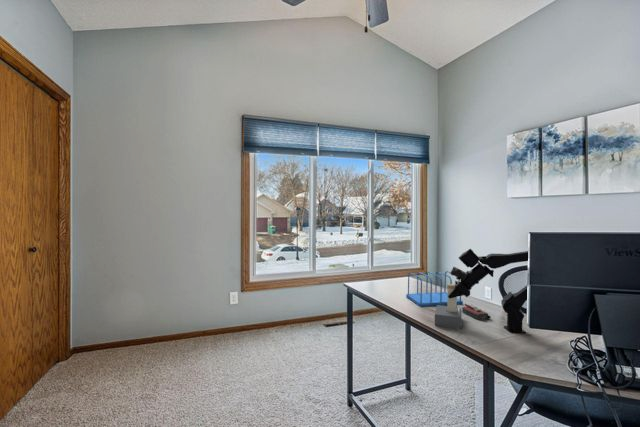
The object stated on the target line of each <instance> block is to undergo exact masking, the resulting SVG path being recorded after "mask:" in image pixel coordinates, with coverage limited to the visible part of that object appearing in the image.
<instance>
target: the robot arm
mask: <svg viewBox="0 0 640 427" xmlns="http://www.w3.org/2000/svg"><path fill="white" fill-rule="evenodd" d="M528 251H529V250H526V251H519V252H512V253H489V254H487V255H485V256H483V255H481V256H478V255H477V254H476V253H475V252H474V251H473V250H472V248H469V249H468V250H465V252H462V253H461V254H460V255H459V256H458V260H460V262H461V263H462V264H464V265H465V266H466V267H467V268H471V269H470V270H467V271H463V270H462V269H459V268H458V267H455V266H453V267H452V269H451V270H450V271H449V272H450V273H449V274H450V275H451V276H454V277H455V278H456V280H455V281H454V282H455V283H454V285H455V289H454V290H453V291H452V292H451V293H450V295H449V296H448V297H449V298H454V297H457V298H458V297H460V296H461V297H462V296H464V297H465V298H468V297H469V296H470V295H471V290H472V288H474V286H476V285H478V284H480V282H481V280H483V279H484V278H486V276H488V275H489V276H490V277H492V278H493V277H494V273H495V270H497V269H499V268H502V267H503V268H504V267H505V266H507V265H510V264H515V263H522V262H529V261H528ZM494 269H495V270H494ZM457 280H458V281H457ZM526 301H528V300H527V285H525V286H524V287H523V288H521V289H520V290H519V291H518V292H515V293H512V291H509V292H507V294H506V295H503V296H502V299H501V302H500V303H501V304H500V305H501V306H502V310H503V311H504V313H506V325H503V328H504V329H505V330H507V331H508V333H511V334H513V333H514V334H526V333H527V331H525V330H524V328H523V320H524V318H525V314H524V313H523V310H522V309H521V308H523V306H524V304H525V303H526Z"/></svg>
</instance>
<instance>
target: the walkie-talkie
mask: <svg viewBox="0 0 640 427" xmlns="http://www.w3.org/2000/svg"><path fill="white" fill-rule="evenodd" d="M461 313H463V314H465V315H467V316H469V317H471V318H473V319H475V320H477V321H480V320H482V321H483V320H489V319H491V318H492V317H491V315H489V313H487V312H486V311H483V309H482V308H479V307H477V306H476V305H474V304H467V303H464V306H462V307H461Z"/></svg>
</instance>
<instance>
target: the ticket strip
mask: <svg viewBox="0 0 640 427" xmlns="http://www.w3.org/2000/svg"><path fill="white" fill-rule="evenodd" d="M446 285H447V286H446V287H447V290H446V291H447V292H446V293H447V305H446V306H447V312H456V313H457V307H458V304H457V298H458V297H454V298H449V297H448V296H449V295H450V293H451V292H452V291H453V290H454V289H455V283H454V284H453V283H452V284H450V283H447V284H446Z"/></svg>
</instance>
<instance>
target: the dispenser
mask: <svg viewBox="0 0 640 427" xmlns="http://www.w3.org/2000/svg"><path fill="white" fill-rule="evenodd" d="M435 306H436V307H435V310H434V311H435V312H434V326H436V327H437V326H439V327H445V328H446V327H447V328H453V329H460V330H461V329H462V320H463V319H462V317H463V316H462V307H458V306H457V313H456V312H447V305H435Z"/></svg>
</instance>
